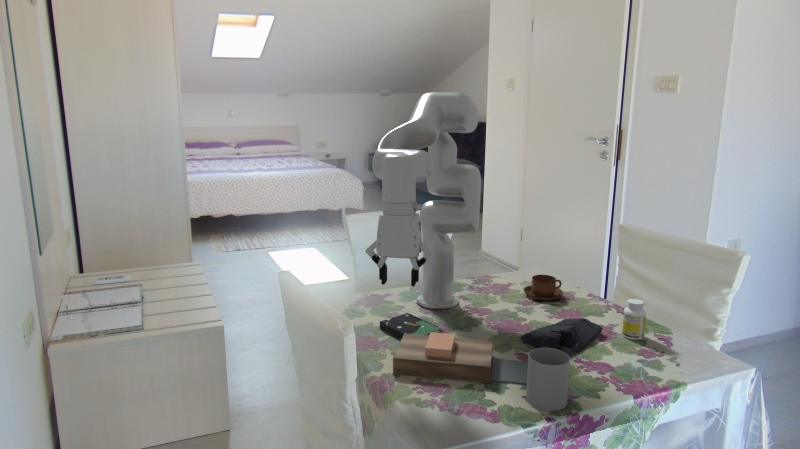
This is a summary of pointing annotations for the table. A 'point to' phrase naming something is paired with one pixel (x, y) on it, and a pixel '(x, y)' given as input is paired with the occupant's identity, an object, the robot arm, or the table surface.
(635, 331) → the supplement bottle
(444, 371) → the board
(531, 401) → the cup
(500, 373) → the mat
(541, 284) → the cup and saucer
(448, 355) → the tile
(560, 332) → the dark slate chunk
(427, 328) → the disk drive
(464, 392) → the table surface
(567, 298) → the table surface
